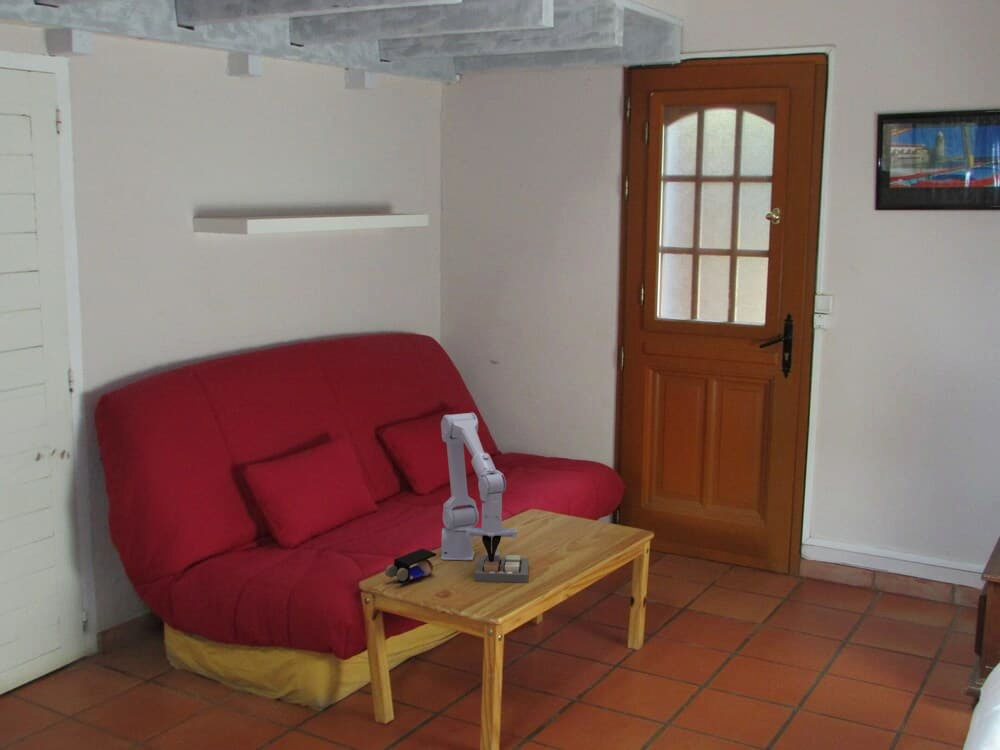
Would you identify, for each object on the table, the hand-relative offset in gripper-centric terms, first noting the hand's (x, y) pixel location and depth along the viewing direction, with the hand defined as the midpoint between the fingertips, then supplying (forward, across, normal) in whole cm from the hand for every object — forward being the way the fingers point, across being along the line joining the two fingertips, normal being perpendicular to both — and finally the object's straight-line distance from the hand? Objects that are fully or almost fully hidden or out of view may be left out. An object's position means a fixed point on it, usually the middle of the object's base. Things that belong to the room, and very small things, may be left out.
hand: (491, 560), depth 330 cm
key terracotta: (+3, 0, 0) cm, 3 cm away
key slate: (+3, 0, +6) cm, 7 cm away
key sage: (+4, +6, +6) cm, 9 cm away
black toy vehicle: (+5, -23, -4) cm, 24 cm away
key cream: (+3, +6, 0) cm, 7 cm away
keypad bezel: (+5, +3, +3) cm, 6 cm away
